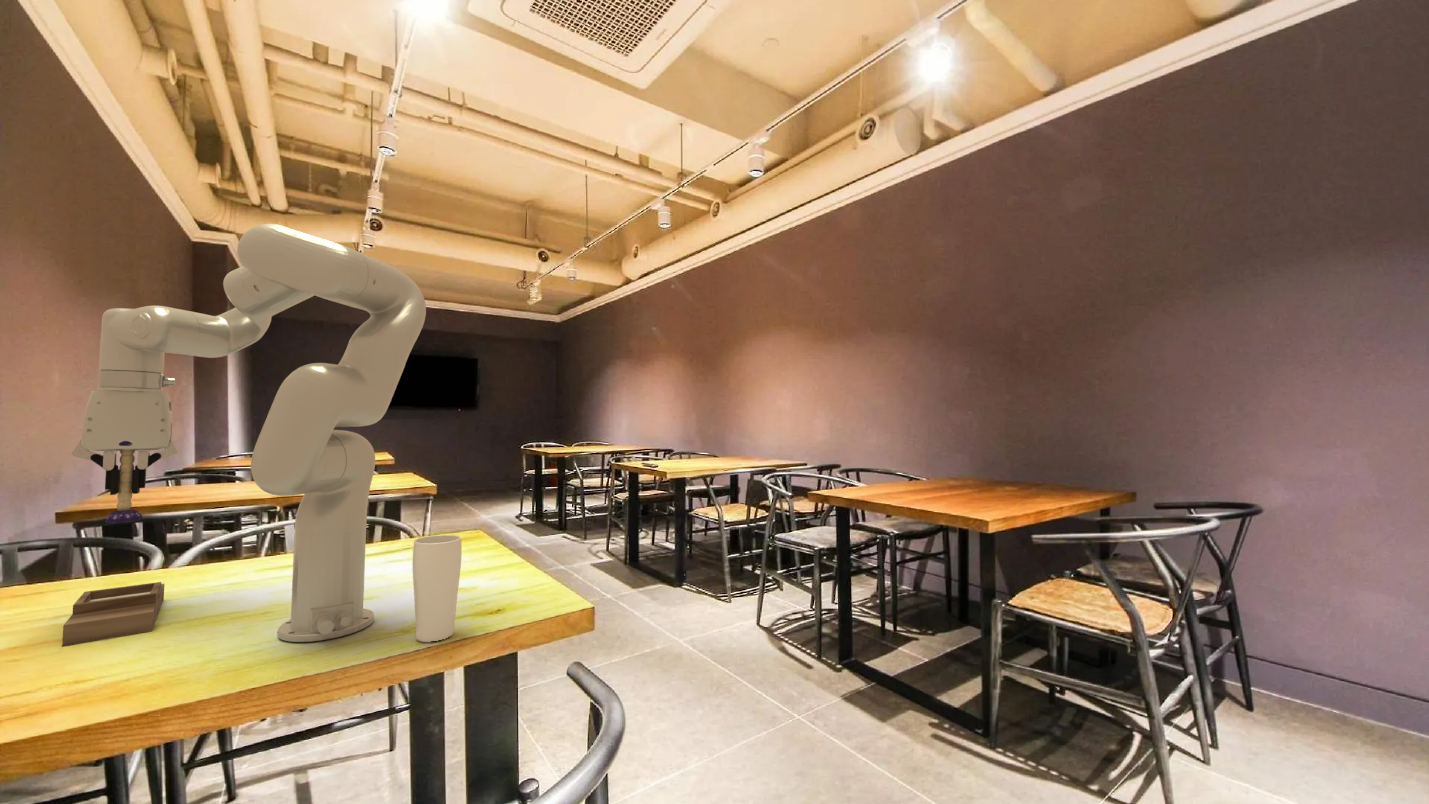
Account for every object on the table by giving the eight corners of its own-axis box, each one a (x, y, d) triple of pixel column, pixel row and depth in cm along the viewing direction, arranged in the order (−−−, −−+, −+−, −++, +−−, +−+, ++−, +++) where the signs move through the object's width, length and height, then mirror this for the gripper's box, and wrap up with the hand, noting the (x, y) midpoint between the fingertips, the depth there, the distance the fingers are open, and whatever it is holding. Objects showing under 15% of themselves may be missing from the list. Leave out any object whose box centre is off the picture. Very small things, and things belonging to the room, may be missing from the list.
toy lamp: (152, 517, 94) (153, 420, 95) (137, 522, 90) (138, 420, 91) (114, 520, 93) (116, 421, 93) (97, 524, 88) (99, 421, 89)
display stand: (152, 631, 86) (153, 601, 86) (61, 646, 80) (63, 614, 80) (163, 600, 101) (164, 575, 101) (88, 610, 95) (90, 584, 95)
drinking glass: (467, 629, 88) (470, 535, 88) (442, 646, 81) (445, 544, 82) (428, 628, 88) (430, 534, 89) (399, 644, 82) (403, 542, 82)
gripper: (197, 387, 100) (191, 488, 99) (64, 381, 90) (57, 494, 89) (195, 385, 95) (189, 492, 94) (53, 379, 84) (45, 499, 83)
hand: (125, 492), depth 91 cm, fingers closed on toy lamp
